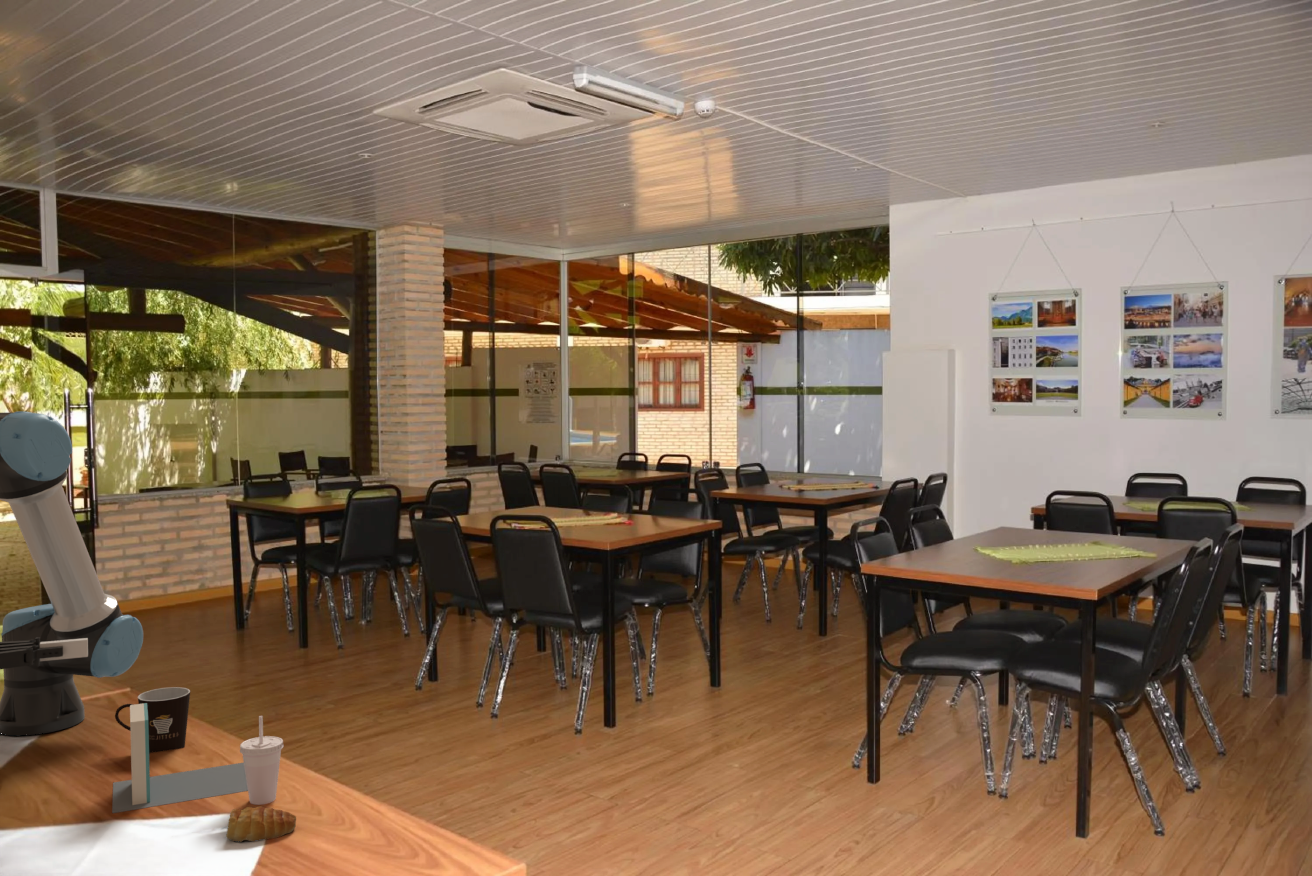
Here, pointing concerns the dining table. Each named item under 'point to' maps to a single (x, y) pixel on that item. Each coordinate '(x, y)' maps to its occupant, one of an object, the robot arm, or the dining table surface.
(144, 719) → the tile
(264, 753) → the smoothie
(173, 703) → the coffee mug
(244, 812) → the pastry
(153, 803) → the mat
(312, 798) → the dining table surface
